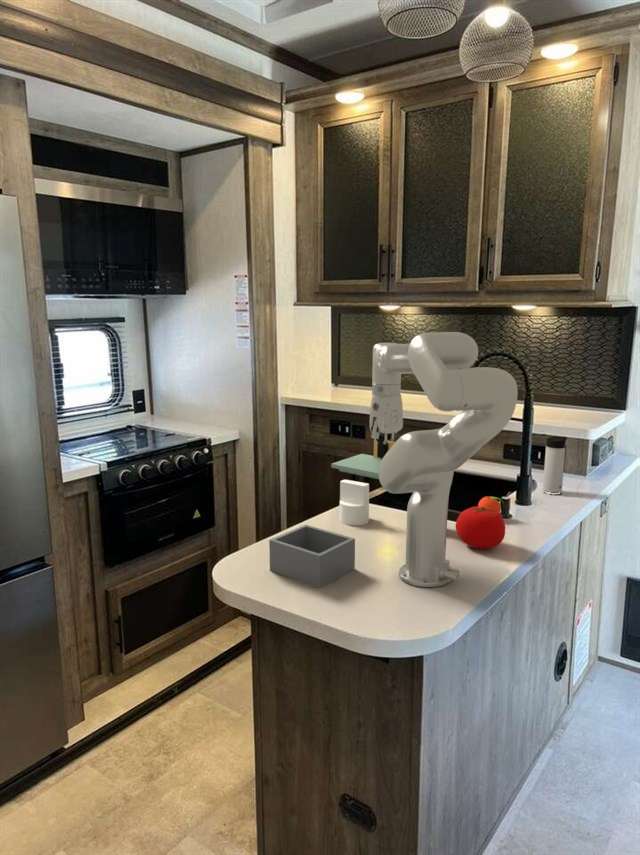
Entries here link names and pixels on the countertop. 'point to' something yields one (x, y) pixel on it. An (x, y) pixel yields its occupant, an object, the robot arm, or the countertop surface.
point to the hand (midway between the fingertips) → (384, 456)
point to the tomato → (480, 527)
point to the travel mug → (554, 464)
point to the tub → (312, 555)
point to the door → (362, 463)
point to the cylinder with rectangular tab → (354, 502)
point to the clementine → (490, 503)
